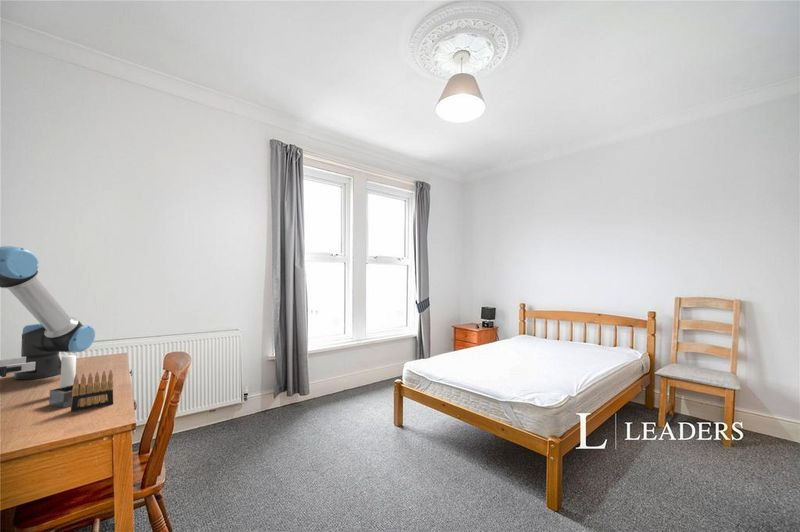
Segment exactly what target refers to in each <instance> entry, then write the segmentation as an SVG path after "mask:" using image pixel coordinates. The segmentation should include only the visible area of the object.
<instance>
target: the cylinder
mask: <svg viewBox="0 0 800 532" xmlns="http://www.w3.org/2000/svg"><path fill="white" fill-rule="evenodd" d="M76 369H77V355H76V354H71V355H64V356H61V374H60V381H59V382H60V384H59V388H61V387H66V386H70V385H73V384H74V378H75V376H76V374H77V373H76V371H77V370H76Z"/></svg>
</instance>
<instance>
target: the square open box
mask: <svg viewBox="0 0 800 532" xmlns="http://www.w3.org/2000/svg"><path fill="white" fill-rule="evenodd" d="M80 384H81V383H79V391H80ZM72 389H73V385H70V386H66V387H61V388H60V387H57V388H55V389H54V388H53V389H50V390H49V397H48V398H49V402H48V405H49V406H52V407H57V408H61V409H65V408H69V407H71V405H72ZM86 391H87V384H86Z"/></svg>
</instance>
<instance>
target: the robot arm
mask: <svg viewBox="0 0 800 532" xmlns="http://www.w3.org/2000/svg"><path fill="white" fill-rule="evenodd" d="M38 264H39V260H38V258H37V256H36V255H35V254H34V253H33V252H32V251H30V250H28V249H27V248H24V247H20V246H19V247H17V246H11V245H9V246H8V245H4V246H0V289H8V290H9V291H10V293H11V294H12V295H13V296H14V297H15V298H16V299H17V300H18V301H19V302H20V303H21V304H22V305H23V307H24V308H26V310H27V311H28V312H29V313H30V314H31V315H32V316H33V317H34V319H36V321H38V323H35V324H26V325H25V326H24V327H23V328H22V333H21V351H20V354H21V356H20V357H11V358H3V359H0V377H1V378H6V377H7V375H9V374H10V375H11V374H13V379H14V378H15V379H14V380H17V379H28V380H36V379H37V380H38V379H44V378H49V377H54V376H57V375H61V361H62V359H61V357H60V353H82V352H84V351H87V349H89V348H90V347H91V346H92V344H93V342H94V341H95V337H96V330H95V329H94V328H93V327H92V326H91V325H88V324H87V325H86V324H85V325H83V324H82V322H80V320H79V319H78V317H74V316H70V315H69V313H67V312H66V310H65V309H64V308H63V307H62V305H61V304H60V303H59V302H58V301H57V300H56V298H55V297H54V296H53V295H52V293H50V291H49V290H48V289H47V288H46V287H45V285H44V284H43V283H42V281H40V280H39V278H38V275H39V271H38V270H39V265H38Z"/></svg>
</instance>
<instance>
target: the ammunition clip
mask: <svg viewBox="0 0 800 532" xmlns="http://www.w3.org/2000/svg"><path fill="white" fill-rule="evenodd" d="M106 372H107V371H106V370H103V372H102V374H101V380H100V373H99V371H96V372H95V376H93V373H92V372H89V374H88V378H87V377H86V374H85V373H83V374H82V375H81V377H80V380H79V376H78V374H77V373H75V378H74V384H73V389H72V405H71V406H70V413H75V412H79V411H80V412H81V411H85V410H90V409H96V408H101V407H106V406H111V405H114V374H113V373H114V372H113V370H112V369H110V370H109V372H108V378H107V373H106ZM93 377H94V378H93ZM86 378H87V380H86ZM93 379H94V380H93ZM93 381H94V382H93ZM79 384H80V391H79ZM86 385H87V391H86Z"/></svg>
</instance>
